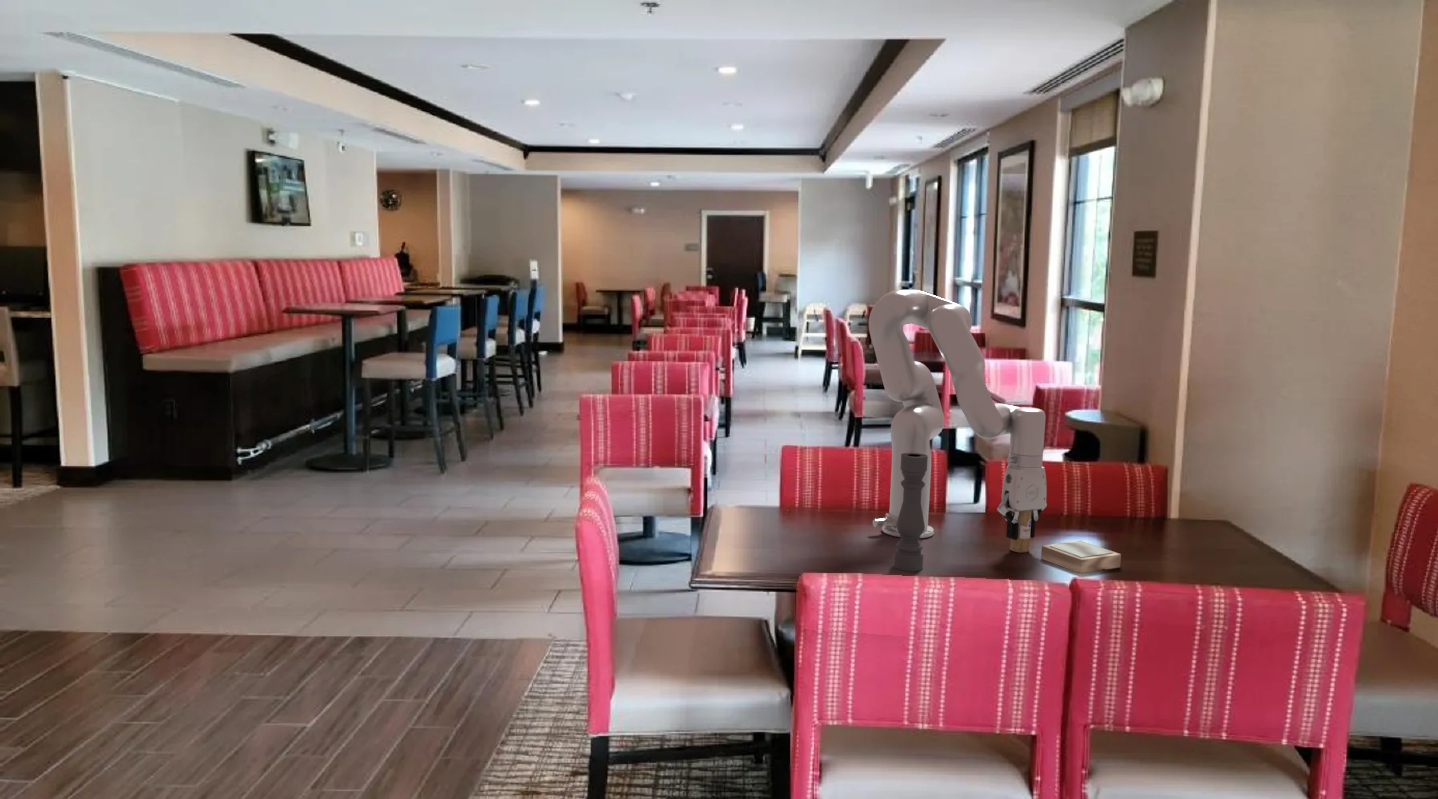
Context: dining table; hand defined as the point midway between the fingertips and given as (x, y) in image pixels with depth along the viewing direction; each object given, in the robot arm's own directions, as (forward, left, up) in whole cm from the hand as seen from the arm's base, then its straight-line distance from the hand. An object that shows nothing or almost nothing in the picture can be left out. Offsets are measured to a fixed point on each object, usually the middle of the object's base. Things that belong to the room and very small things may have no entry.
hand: (1020, 536), depth 243 cm
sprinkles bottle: (0, 0, -4) cm, 4 cm away
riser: (+6, -13, -3) cm, 15 cm away
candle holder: (-33, -1, -4) cm, 33 cm away
